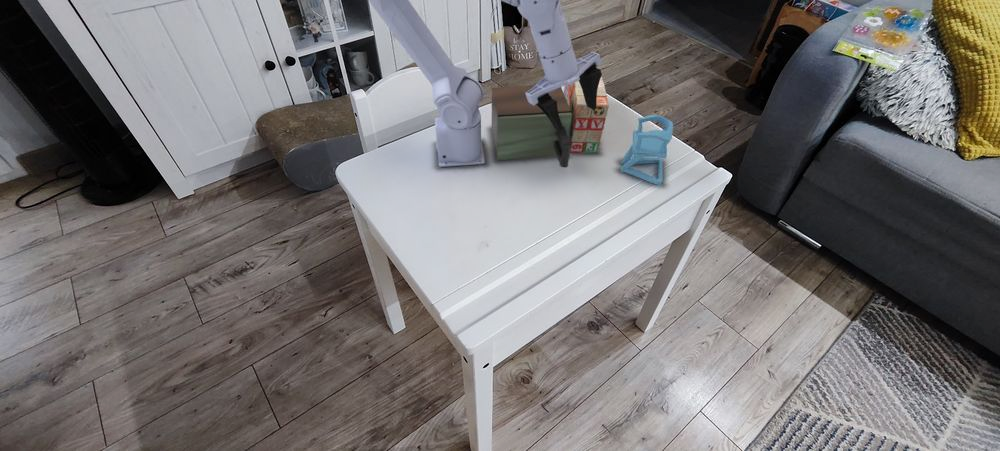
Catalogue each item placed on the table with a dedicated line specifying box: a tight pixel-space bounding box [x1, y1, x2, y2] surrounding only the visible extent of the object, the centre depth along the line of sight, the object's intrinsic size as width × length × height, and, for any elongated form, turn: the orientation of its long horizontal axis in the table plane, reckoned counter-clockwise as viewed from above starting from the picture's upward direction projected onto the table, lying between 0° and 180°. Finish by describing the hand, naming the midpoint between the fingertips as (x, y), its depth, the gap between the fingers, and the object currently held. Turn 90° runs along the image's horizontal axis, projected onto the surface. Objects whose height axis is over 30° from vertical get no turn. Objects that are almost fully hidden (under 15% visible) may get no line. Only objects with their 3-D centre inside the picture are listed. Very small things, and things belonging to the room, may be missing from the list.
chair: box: [620, 114, 674, 186], centre depth 90 cm, size 8×8×12 cm
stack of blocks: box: [563, 75, 610, 154], centre depth 101 cm, size 21×6×12 cm, turn 179°
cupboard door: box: [496, 113, 572, 169], centre depth 91 cm, size 8×15×10 cm, turn 97°
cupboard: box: [491, 85, 571, 157], centre depth 97 cm, size 10×15×11 cm
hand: (575, 117), depth 85 cm, fingers open, 7 cm apart
